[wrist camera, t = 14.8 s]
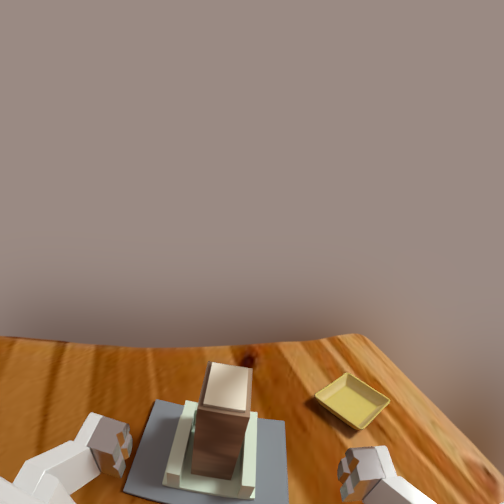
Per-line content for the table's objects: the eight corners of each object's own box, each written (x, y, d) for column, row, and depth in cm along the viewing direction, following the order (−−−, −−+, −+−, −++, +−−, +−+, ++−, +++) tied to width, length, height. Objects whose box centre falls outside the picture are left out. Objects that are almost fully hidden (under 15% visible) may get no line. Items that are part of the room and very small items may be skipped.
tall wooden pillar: (234, 437, 30) (252, 366, 27) (230, 480, 24) (250, 415, 21) (199, 431, 30) (208, 358, 26) (190, 473, 24) (197, 406, 21)
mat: (283, 422, 34) (284, 421, 34) (288, 518, 21) (289, 517, 21) (156, 401, 34) (156, 399, 34) (123, 492, 21) (123, 490, 21)
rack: (256, 429, 32) (261, 413, 31) (253, 500, 23) (260, 487, 22) (180, 417, 32) (181, 399, 31) (162, 485, 23) (161, 470, 22)
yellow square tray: (356, 439, 33) (362, 430, 32) (308, 404, 39) (313, 394, 38) (385, 409, 39) (391, 400, 38) (343, 381, 44) (347, 371, 44)
